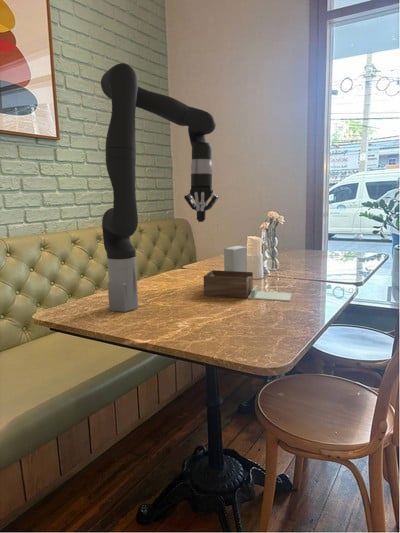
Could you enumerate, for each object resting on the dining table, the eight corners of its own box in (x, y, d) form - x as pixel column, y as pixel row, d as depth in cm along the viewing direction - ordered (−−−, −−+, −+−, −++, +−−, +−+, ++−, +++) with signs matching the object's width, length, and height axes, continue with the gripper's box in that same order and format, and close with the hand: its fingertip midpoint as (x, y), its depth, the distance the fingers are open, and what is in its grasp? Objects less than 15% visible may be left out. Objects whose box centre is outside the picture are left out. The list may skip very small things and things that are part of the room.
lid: (289, 302, 136) (289, 293, 135) (247, 300, 140) (247, 290, 140) (291, 295, 145) (292, 286, 144) (252, 293, 149) (252, 284, 149)
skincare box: (237, 279, 171) (237, 245, 168) (247, 281, 166) (247, 246, 163) (223, 282, 166) (223, 247, 163) (233, 284, 161) (233, 248, 158)
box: (246, 298, 140) (246, 278, 139) (203, 295, 145) (203, 276, 144) (252, 291, 150) (252, 272, 149) (212, 288, 155) (212, 270, 154)
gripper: (180, 172, 139) (180, 221, 142) (215, 172, 135) (215, 222, 138) (188, 173, 146) (188, 220, 149) (222, 173, 141) (221, 221, 144)
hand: (201, 221), depth 143 cm, fingers closed
